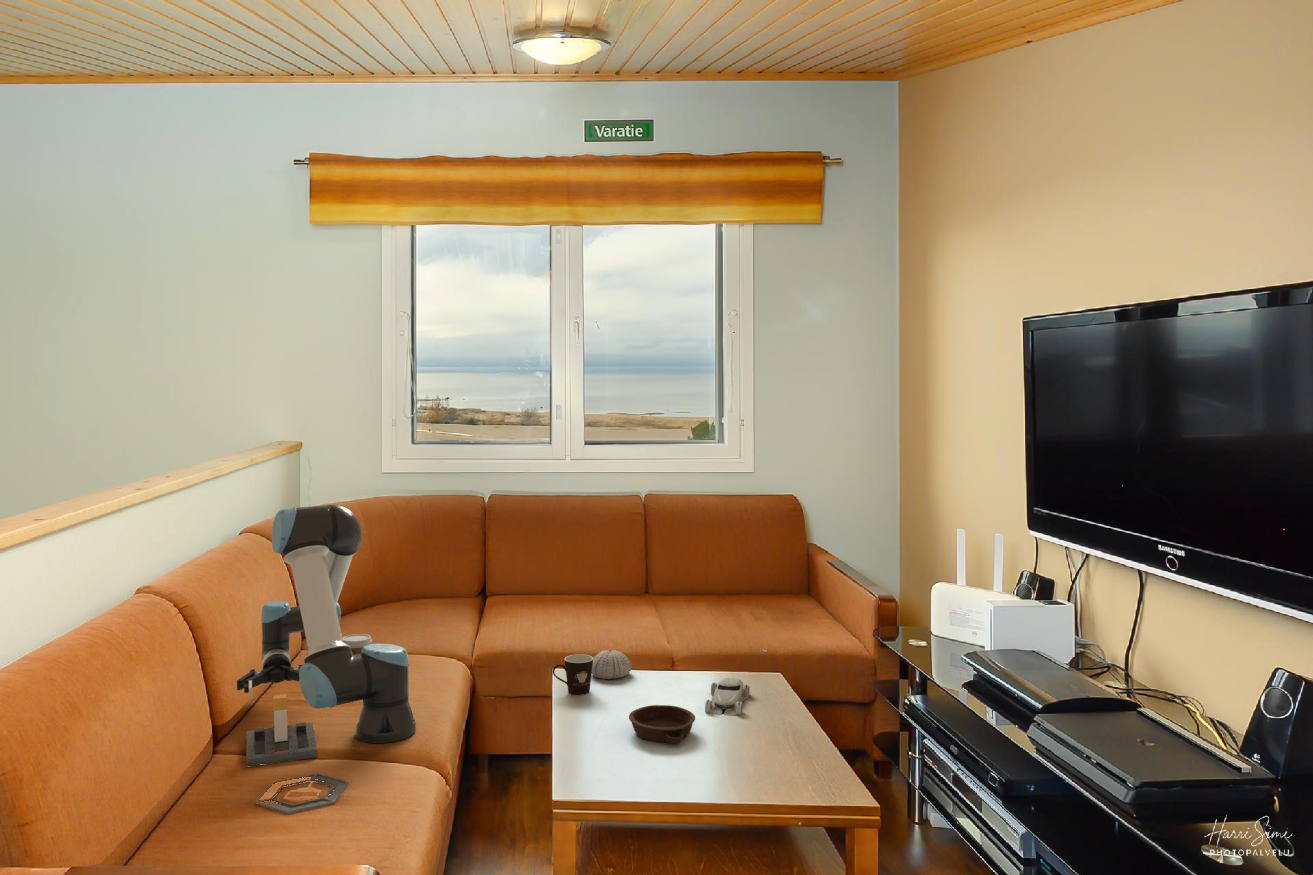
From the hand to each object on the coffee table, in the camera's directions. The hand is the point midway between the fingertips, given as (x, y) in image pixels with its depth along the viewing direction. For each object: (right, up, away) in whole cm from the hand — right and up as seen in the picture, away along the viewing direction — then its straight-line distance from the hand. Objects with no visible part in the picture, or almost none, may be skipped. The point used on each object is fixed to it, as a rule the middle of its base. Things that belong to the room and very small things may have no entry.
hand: (278, 690), depth 249 cm
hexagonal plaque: (+20, -14, -35) cm, 43 cm away
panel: (+4, -12, -8) cm, 15 cm away
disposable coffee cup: (+5, -9, +51) cm, 52 cm away
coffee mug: (+74, -10, +36) cm, 83 cm away
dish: (+100, -12, +2) cm, 101 cm away
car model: (+120, -11, +28) cm, 124 cm away
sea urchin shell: (+84, -9, +52) cm, 99 cm away
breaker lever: (+4, -10, -9) cm, 14 cm away
